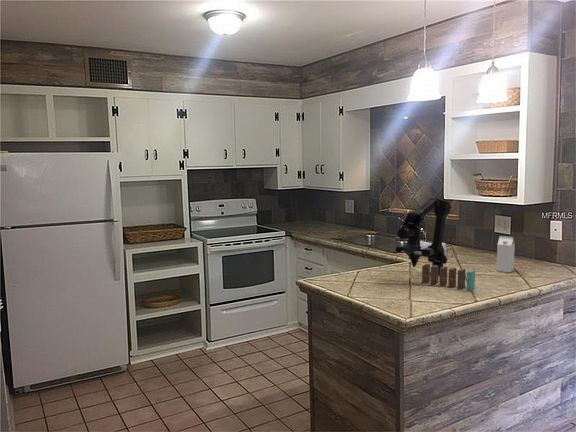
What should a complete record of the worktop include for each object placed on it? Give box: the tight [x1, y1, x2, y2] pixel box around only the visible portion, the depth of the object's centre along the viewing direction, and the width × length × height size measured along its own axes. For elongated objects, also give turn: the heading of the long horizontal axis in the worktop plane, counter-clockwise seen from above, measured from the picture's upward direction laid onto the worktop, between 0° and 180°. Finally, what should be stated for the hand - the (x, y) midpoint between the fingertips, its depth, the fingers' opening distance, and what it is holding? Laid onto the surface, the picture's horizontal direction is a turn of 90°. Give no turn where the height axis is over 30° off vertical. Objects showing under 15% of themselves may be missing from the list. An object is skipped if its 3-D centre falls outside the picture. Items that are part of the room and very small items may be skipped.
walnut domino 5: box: [456, 268, 467, 290], centre depth 233 cm, size 2×5×9 cm, turn 141°
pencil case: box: [420, 240, 449, 257], centre depth 307 cm, size 21×9×10 cm, turn 51°
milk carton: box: [496, 235, 516, 273], centre depth 264 cm, size 7×7×19 cm
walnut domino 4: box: [447, 266, 457, 289], centre depth 236 cm, size 2×5×9 cm, turn 141°
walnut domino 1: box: [421, 263, 431, 285], centre depth 244 cm, size 2×5×9 cm, turn 141°
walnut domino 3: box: [438, 265, 449, 287], centre depth 239 cm, size 2×5×9 cm, turn 141°
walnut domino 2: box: [430, 265, 439, 286], centre depth 242 cm, size 2×5×9 cm, turn 140°
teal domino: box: [466, 269, 476, 292], centre depth 230 cm, size 2×5×9 cm, turn 140°
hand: (414, 266), depth 248 cm, fingers closed
